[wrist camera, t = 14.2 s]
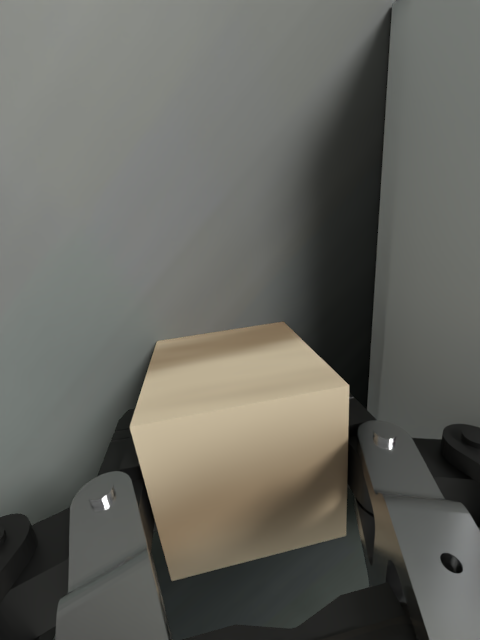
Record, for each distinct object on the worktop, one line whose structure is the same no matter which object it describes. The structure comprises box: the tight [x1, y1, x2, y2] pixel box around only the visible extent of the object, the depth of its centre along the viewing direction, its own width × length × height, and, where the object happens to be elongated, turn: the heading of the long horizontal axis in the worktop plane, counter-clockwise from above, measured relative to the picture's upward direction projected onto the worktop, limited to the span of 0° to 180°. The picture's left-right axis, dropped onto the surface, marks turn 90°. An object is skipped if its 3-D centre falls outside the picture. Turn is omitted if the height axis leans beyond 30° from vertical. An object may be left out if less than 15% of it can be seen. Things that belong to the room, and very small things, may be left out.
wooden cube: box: [130, 322, 349, 581], centre depth 9 cm, size 5×5×5 cm
